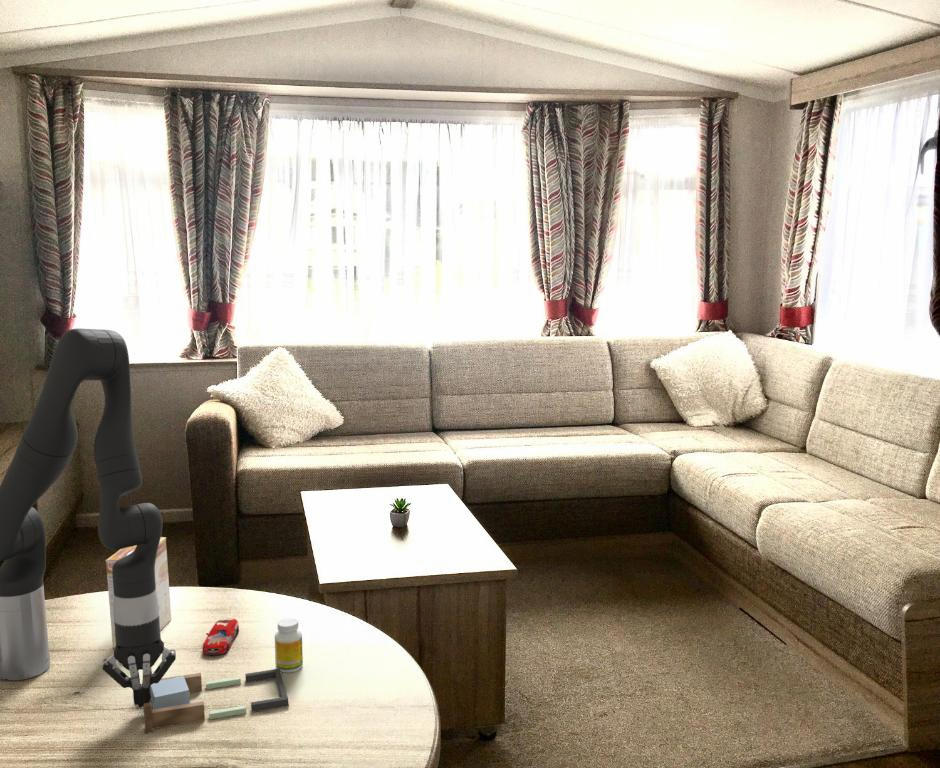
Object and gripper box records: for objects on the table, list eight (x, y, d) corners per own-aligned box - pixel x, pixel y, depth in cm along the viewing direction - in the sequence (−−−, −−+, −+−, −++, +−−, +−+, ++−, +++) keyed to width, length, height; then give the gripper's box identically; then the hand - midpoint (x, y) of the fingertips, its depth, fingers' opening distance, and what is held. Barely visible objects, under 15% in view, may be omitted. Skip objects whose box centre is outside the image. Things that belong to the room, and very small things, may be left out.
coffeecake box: (142, 618, 204) (136, 535, 201) (172, 619, 204) (167, 536, 200) (110, 648, 189) (104, 559, 186) (143, 649, 189) (137, 560, 186)
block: (155, 717, 163) (154, 697, 162) (151, 702, 168) (150, 682, 168) (190, 710, 166) (189, 689, 165) (184, 695, 171) (183, 675, 170)
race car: (225, 658, 186) (224, 640, 185) (199, 658, 186) (198, 640, 185) (243, 630, 198) (242, 613, 198) (218, 629, 199) (217, 612, 198)
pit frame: (251, 712, 164) (251, 705, 164) (245, 680, 176) (245, 673, 175) (288, 706, 166) (288, 698, 166) (280, 675, 178) (279, 668, 178)
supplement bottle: (272, 664, 182) (271, 619, 181) (298, 658, 185) (297, 614, 183) (279, 675, 178) (277, 629, 176) (306, 670, 180) (304, 624, 178)
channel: (145, 733, 157) (143, 706, 156) (146, 693, 171) (144, 668, 170) (205, 723, 160) (203, 697, 160) (201, 684, 174) (200, 660, 173)
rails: (209, 719, 162) (209, 714, 162) (206, 686, 173) (205, 681, 173) (246, 713, 164) (246, 708, 164) (240, 681, 175) (240, 676, 175)
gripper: (94, 628, 155) (102, 722, 158) (175, 618, 159) (181, 709, 162) (97, 611, 162) (104, 701, 165) (175, 602, 166) (180, 689, 169)
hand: (142, 705), depth 164 cm, fingers closed
